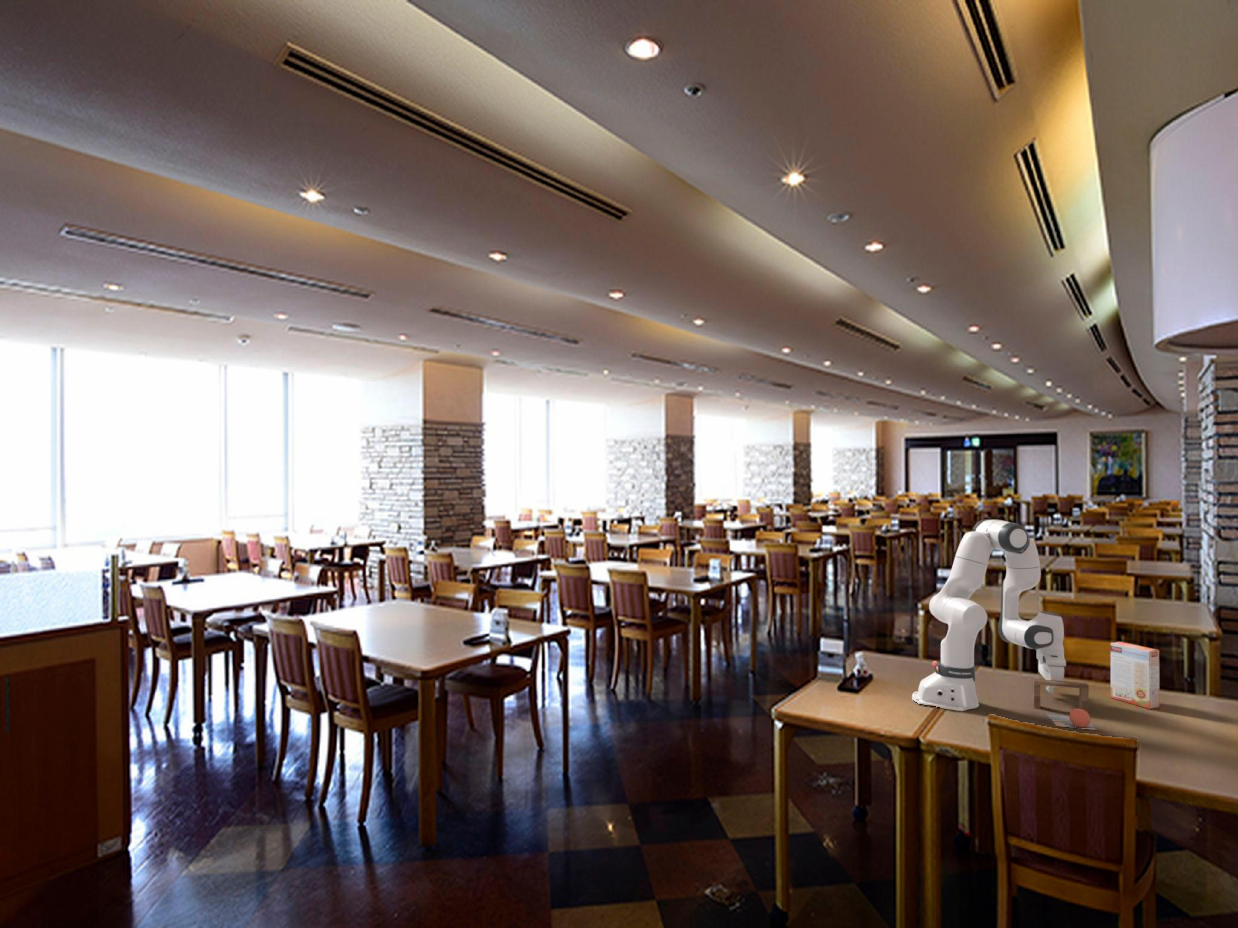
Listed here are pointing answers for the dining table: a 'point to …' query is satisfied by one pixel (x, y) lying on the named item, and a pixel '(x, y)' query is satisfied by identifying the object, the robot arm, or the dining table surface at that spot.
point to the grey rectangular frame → (1082, 686)
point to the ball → (1079, 718)
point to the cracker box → (1135, 674)
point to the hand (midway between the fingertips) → (1050, 691)
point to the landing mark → (1066, 721)
